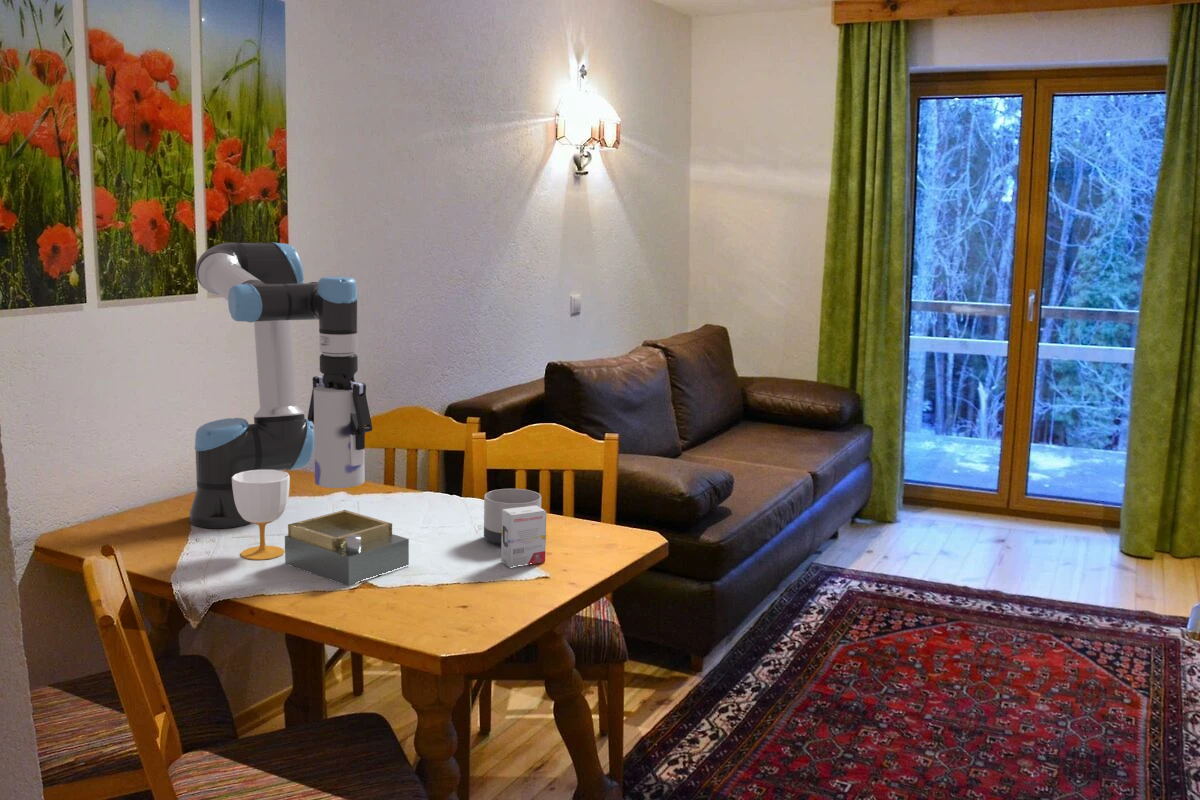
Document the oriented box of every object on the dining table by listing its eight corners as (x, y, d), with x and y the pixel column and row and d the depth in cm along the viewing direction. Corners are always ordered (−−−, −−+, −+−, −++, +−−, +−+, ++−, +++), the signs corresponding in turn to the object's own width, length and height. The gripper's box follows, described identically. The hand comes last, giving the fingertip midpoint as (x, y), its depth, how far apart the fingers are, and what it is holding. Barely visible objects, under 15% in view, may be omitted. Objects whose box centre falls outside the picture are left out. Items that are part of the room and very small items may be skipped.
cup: (264, 541, 243) (262, 466, 240) (302, 551, 237) (301, 474, 234) (221, 555, 233) (219, 477, 230) (260, 566, 227) (258, 486, 224)
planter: (551, 538, 252) (552, 494, 250) (519, 553, 241) (520, 507, 239) (505, 528, 258) (506, 485, 256) (472, 542, 247) (472, 497, 245)
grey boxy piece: (285, 563, 229) (284, 522, 227) (345, 546, 241) (345, 506, 240) (348, 586, 217) (348, 542, 215) (408, 566, 230) (408, 525, 228)
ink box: (536, 556, 239) (537, 504, 237) (546, 563, 234) (547, 510, 232) (499, 561, 234) (500, 508, 232) (509, 569, 230) (510, 514, 228)
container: (352, 490, 221) (351, 392, 218) (306, 486, 223) (304, 389, 220) (372, 478, 231) (371, 385, 227) (328, 475, 233) (326, 382, 229)
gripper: (288, 349, 226) (290, 454, 230) (361, 361, 213) (362, 473, 217) (317, 346, 232) (319, 448, 236) (390, 357, 219) (391, 466, 223)
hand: (339, 460), depth 226 cm, fingers closed on container, 10 cm apart
